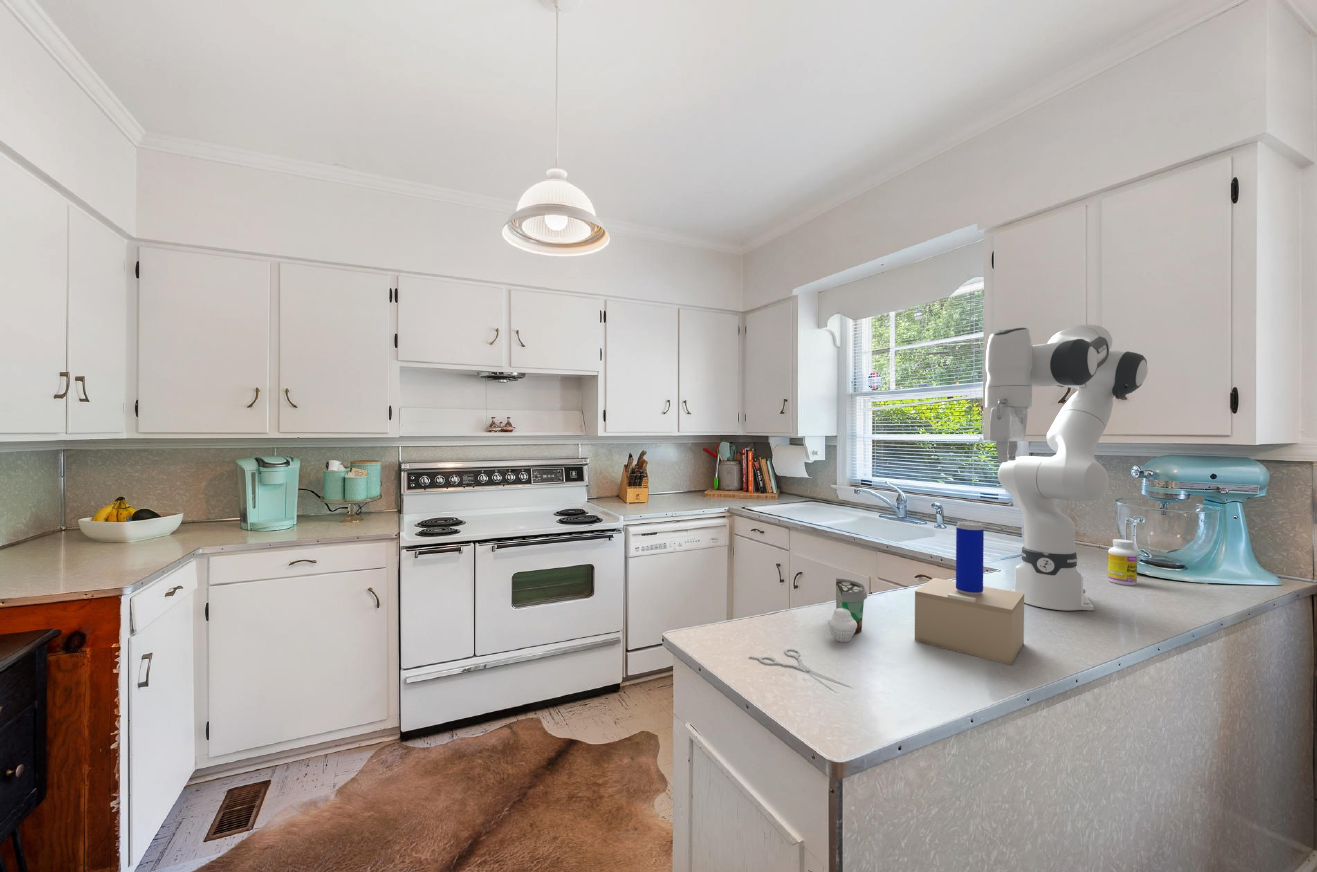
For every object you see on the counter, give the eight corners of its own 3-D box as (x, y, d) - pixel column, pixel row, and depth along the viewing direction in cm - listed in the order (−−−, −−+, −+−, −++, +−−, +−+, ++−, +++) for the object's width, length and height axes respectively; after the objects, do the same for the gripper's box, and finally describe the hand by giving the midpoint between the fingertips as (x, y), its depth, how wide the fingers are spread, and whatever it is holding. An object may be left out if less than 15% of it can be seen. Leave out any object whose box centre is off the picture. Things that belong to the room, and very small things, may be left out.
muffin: (823, 640, 119) (823, 608, 118) (833, 632, 123) (834, 601, 123) (851, 647, 115) (851, 614, 114) (861, 638, 119) (861, 607, 119)
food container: (871, 639, 119) (871, 594, 119) (842, 637, 120) (842, 592, 120) (862, 620, 131) (862, 579, 131) (835, 618, 132) (835, 577, 132)
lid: (933, 581, 128) (933, 575, 128) (1024, 597, 116) (1024, 590, 116) (914, 595, 118) (915, 588, 118) (1012, 614, 106) (1012, 606, 106)
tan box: (933, 623, 129) (933, 582, 128) (1023, 644, 116) (1024, 598, 116) (914, 640, 118) (914, 595, 118) (1011, 665, 106) (1012, 614, 106)
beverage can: (981, 590, 119) (981, 522, 118) (984, 596, 114) (985, 526, 114) (954, 587, 121) (955, 520, 120) (956, 593, 116) (957, 524, 116)
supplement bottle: (1128, 587, 159) (1128, 543, 159) (1102, 581, 165) (1103, 539, 165) (1142, 584, 161) (1142, 541, 161) (1116, 578, 168) (1117, 537, 167)
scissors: (786, 645, 115) (866, 682, 98) (786, 648, 115) (866, 686, 98) (748, 656, 109) (826, 697, 92) (748, 660, 109) (826, 702, 92)
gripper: (1016, 397, 112) (1015, 464, 112) (1032, 401, 127) (1031, 460, 127) (981, 398, 116) (980, 462, 116) (1000, 402, 131) (1000, 459, 131)
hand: (1007, 461), depth 122 cm, fingers open, 8 cm apart
